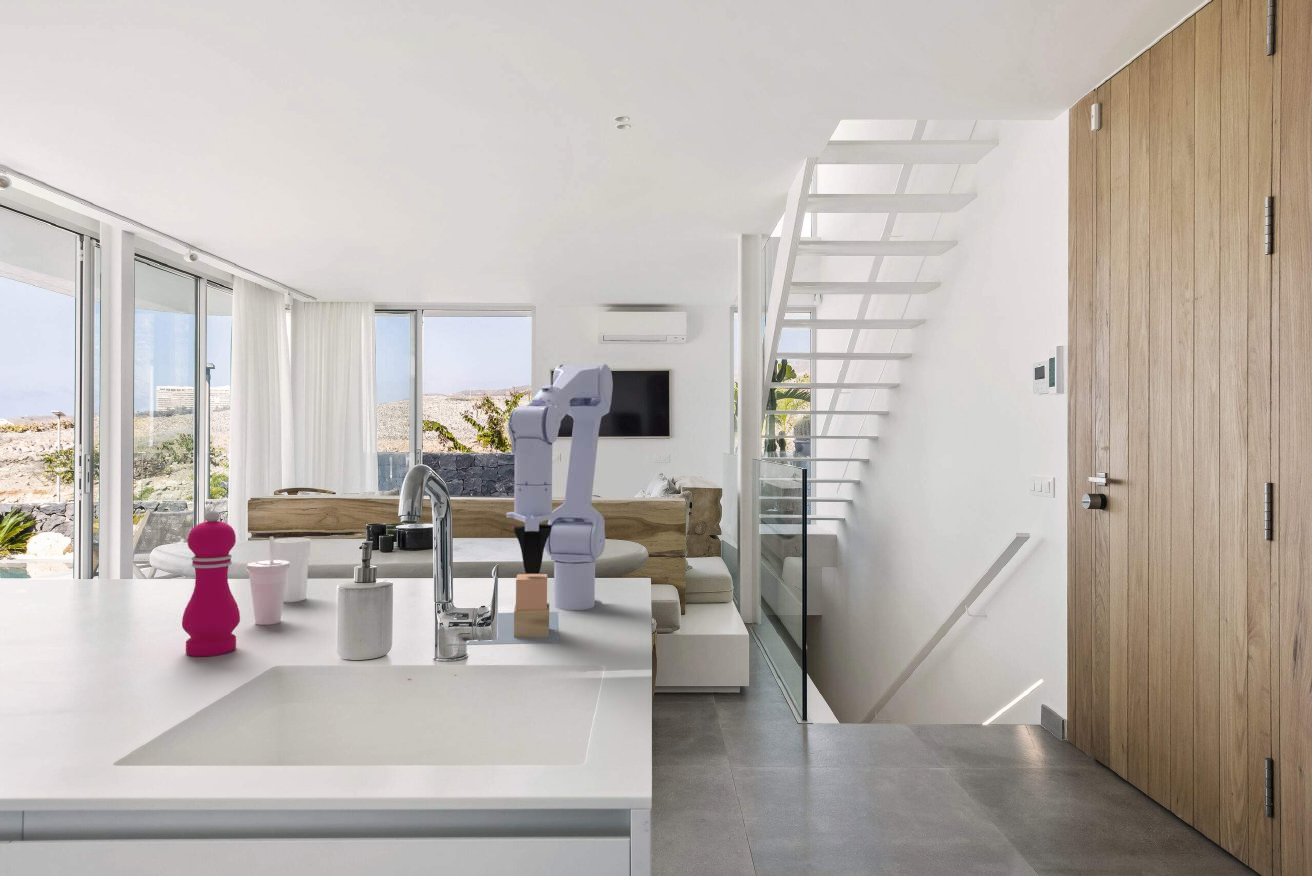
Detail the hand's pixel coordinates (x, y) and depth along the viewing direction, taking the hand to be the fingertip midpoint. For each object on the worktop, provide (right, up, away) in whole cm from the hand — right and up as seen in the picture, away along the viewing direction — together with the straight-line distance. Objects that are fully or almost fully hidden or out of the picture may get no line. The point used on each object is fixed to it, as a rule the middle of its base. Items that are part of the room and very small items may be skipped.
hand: (532, 572), depth 123 cm
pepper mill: (-44, -10, -9) cm, 46 cm away
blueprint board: (-5, -10, +3) cm, 11 cm away
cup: (-49, -10, +26) cm, 56 cm away
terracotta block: (0, -5, 0) cm, 5 cm away
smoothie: (-45, -10, +8) cm, 46 cm away
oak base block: (0, -9, 0) cm, 9 cm away
